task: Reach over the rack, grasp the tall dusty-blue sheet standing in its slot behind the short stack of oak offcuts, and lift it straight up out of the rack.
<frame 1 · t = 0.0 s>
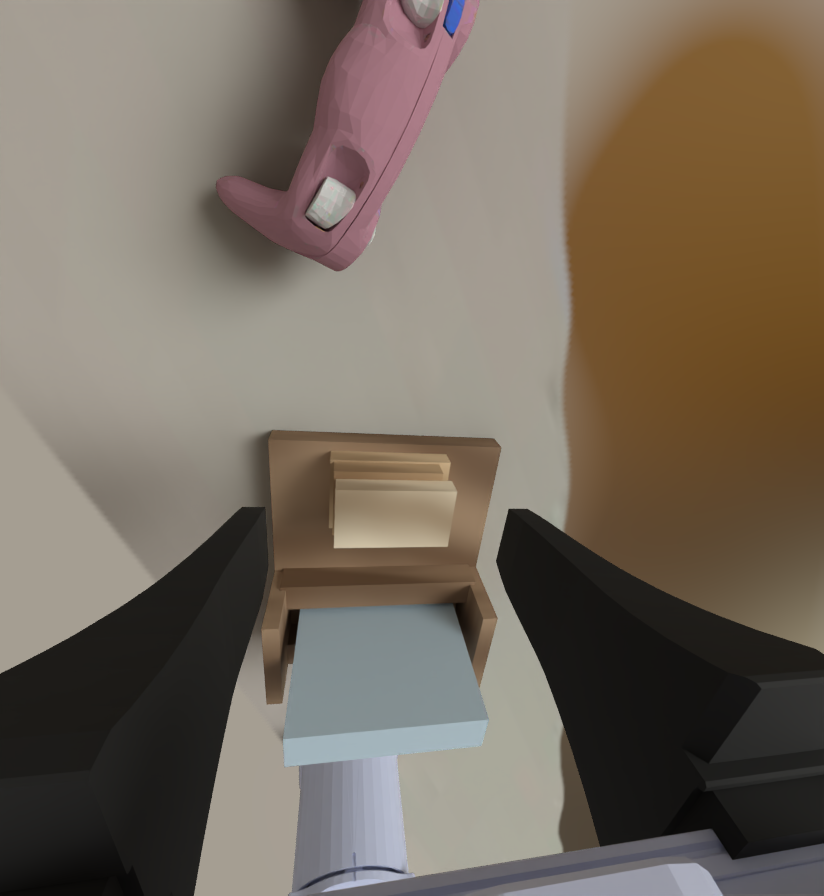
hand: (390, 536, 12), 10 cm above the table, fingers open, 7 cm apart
tall sheet: (376, 603, 25), point 1 cm above the table, touching rack
offcut stack: (387, 486, 21), point 1 cm above the table, touching rack
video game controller: (337, 127, 16), on the table
rack: (379, 539, 24), on the table
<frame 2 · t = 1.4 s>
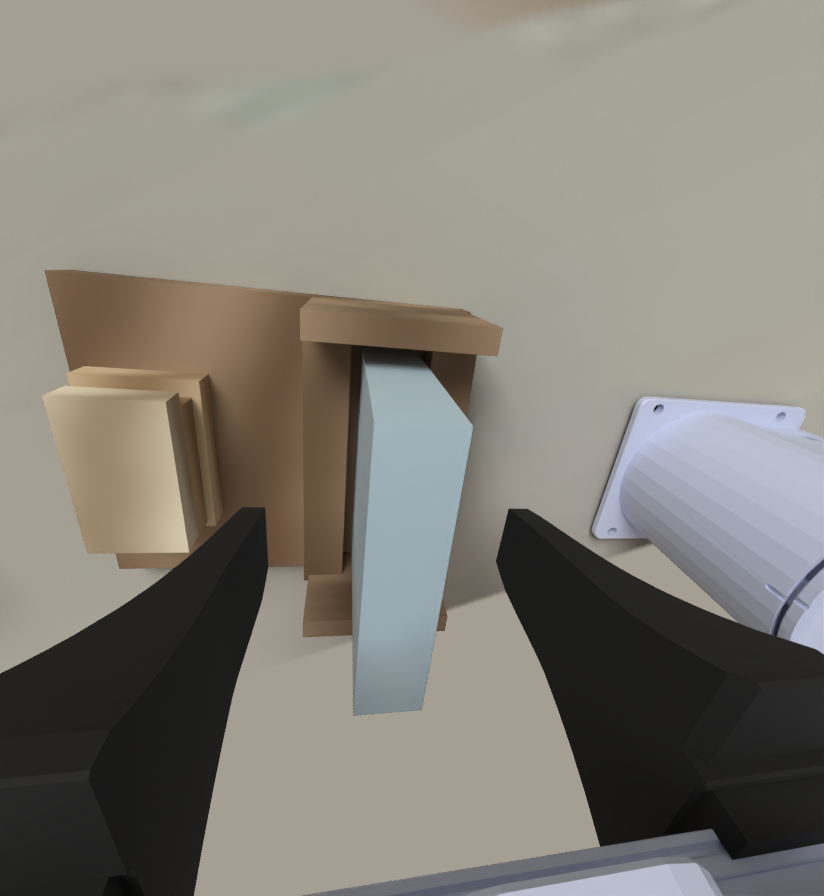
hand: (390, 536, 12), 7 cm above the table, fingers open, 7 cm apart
tall sheet: (379, 453, 17), point 1 cm above the table, touching rack
offcut stack: (160, 446, 15), point 1 cm above the table, touching rack
rack: (285, 438, 17), on the table
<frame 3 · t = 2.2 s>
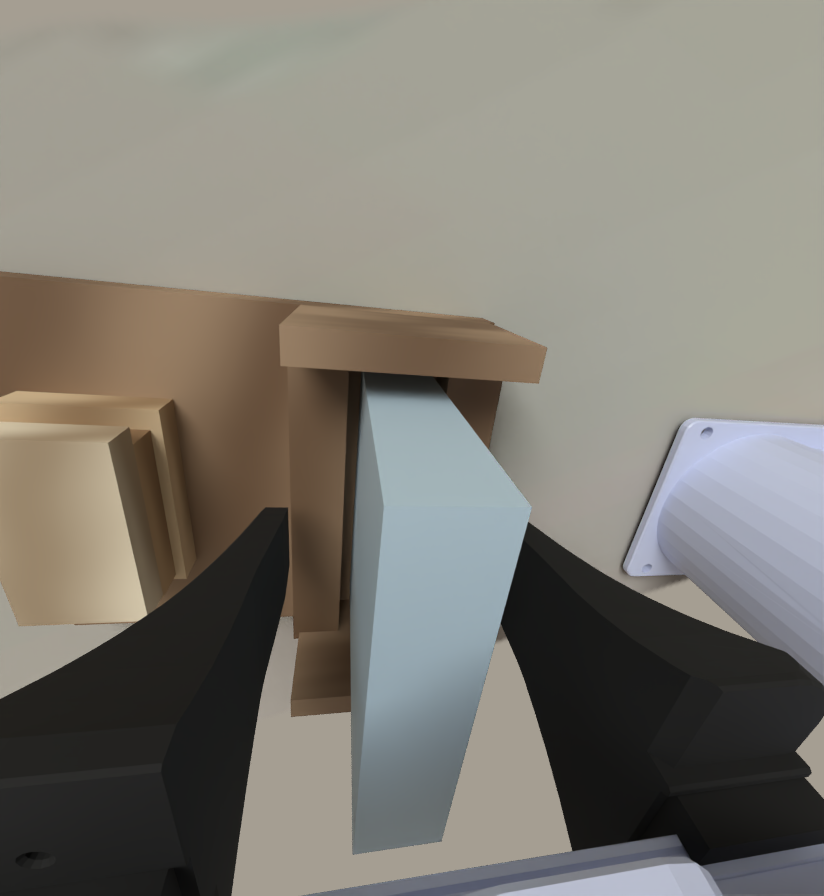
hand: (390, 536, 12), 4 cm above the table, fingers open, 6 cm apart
tall sheet: (383, 489, 14), point 1 cm above the table, touching rack
offcut stack: (117, 485, 13), point 1 cm above the table, touching rack
rack: (271, 470, 15), on the table
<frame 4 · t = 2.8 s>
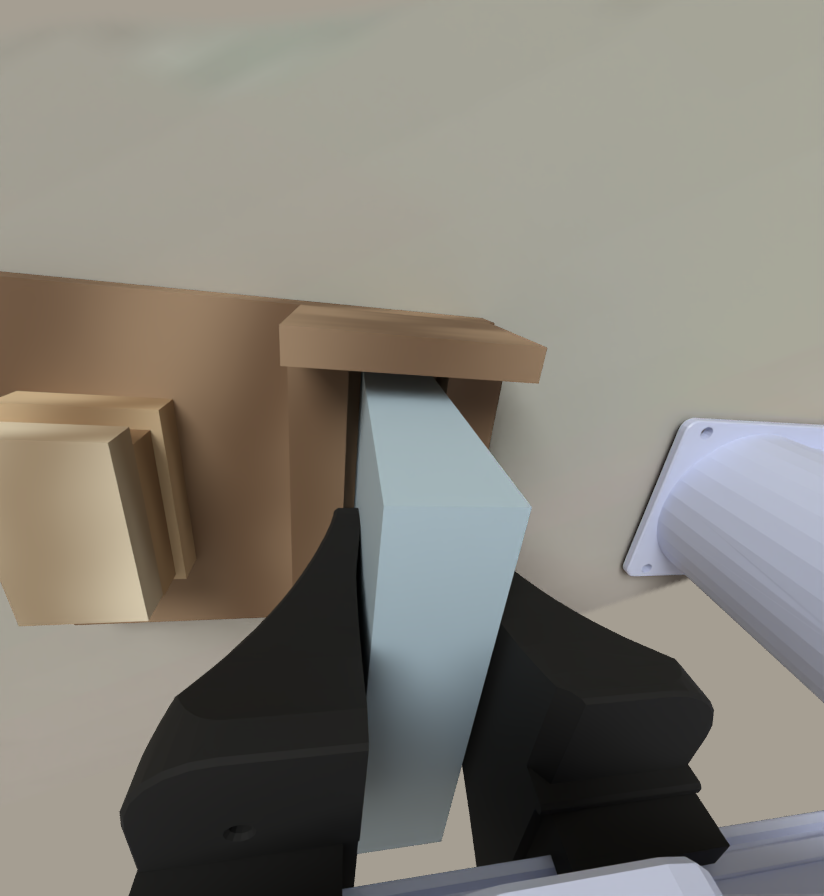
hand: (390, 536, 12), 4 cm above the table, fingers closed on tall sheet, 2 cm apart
tall sheet: (383, 489, 14), point 1 cm above the table, touching gripper, rack
offcut stack: (117, 485, 13), point 1 cm above the table, touching rack
rack: (271, 470, 15), on the table
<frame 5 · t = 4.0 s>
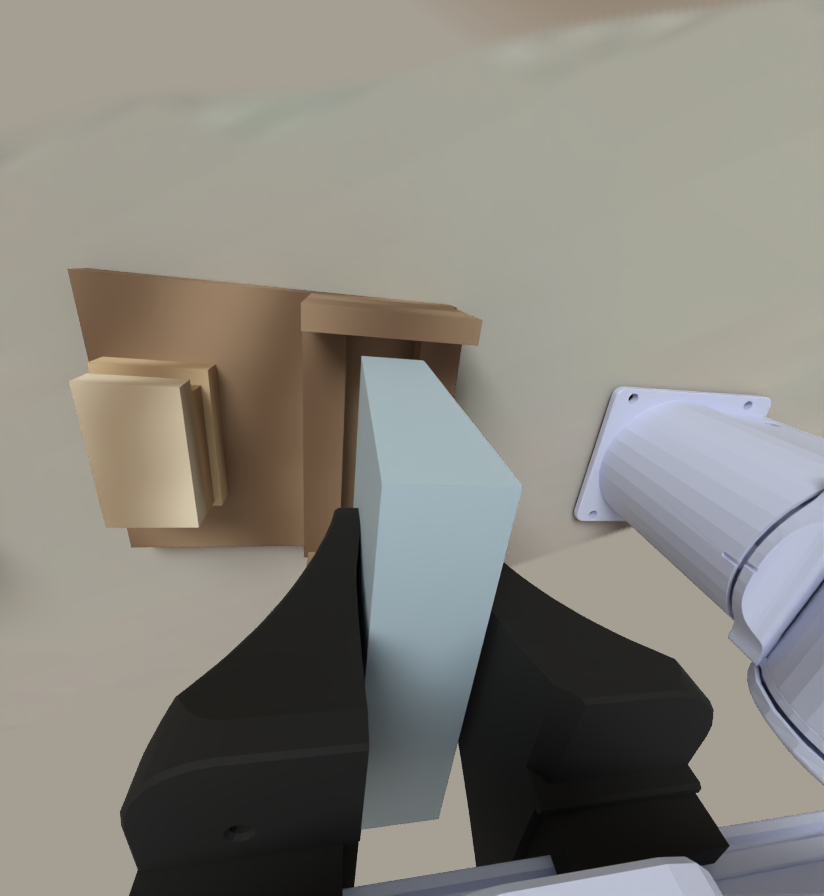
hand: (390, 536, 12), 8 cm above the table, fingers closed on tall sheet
tall sheet: (382, 481, 14), point 5 cm above the table, touching gripper
offcut stack: (171, 431, 17), point 1 cm above the table, touching rack
rack: (286, 425, 18), on the table
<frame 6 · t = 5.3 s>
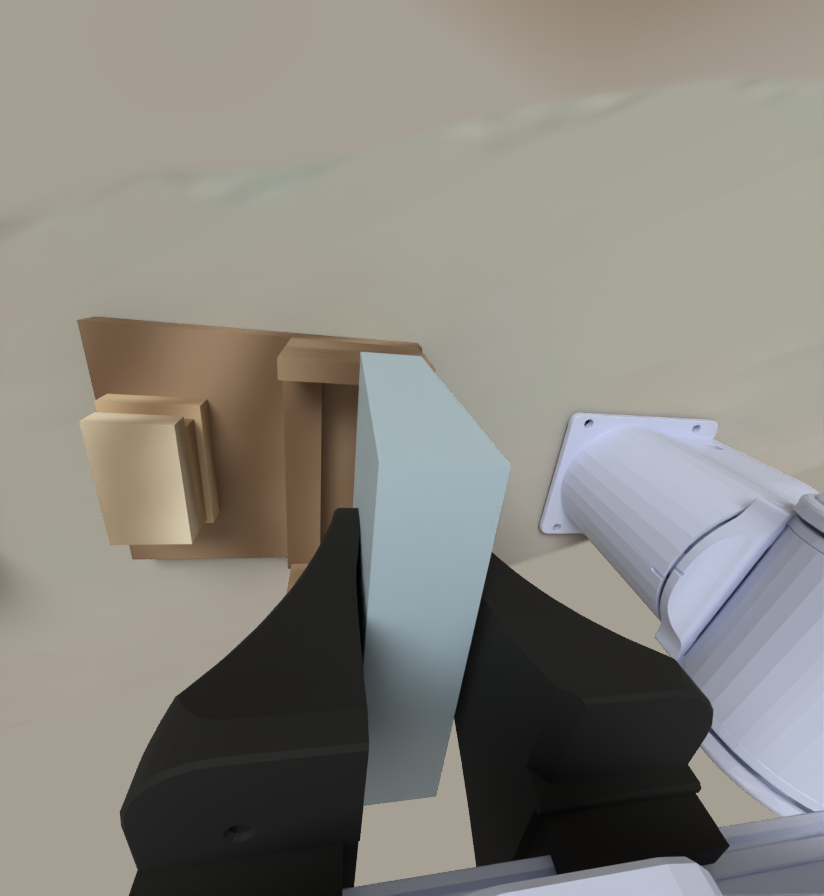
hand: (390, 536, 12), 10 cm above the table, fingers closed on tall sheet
tall sheet: (381, 475, 15), point 6 cm above the table, touching gripper
offcut stack: (168, 457, 19), point 1 cm above the table, touching rack
rack: (272, 449, 21), on the table
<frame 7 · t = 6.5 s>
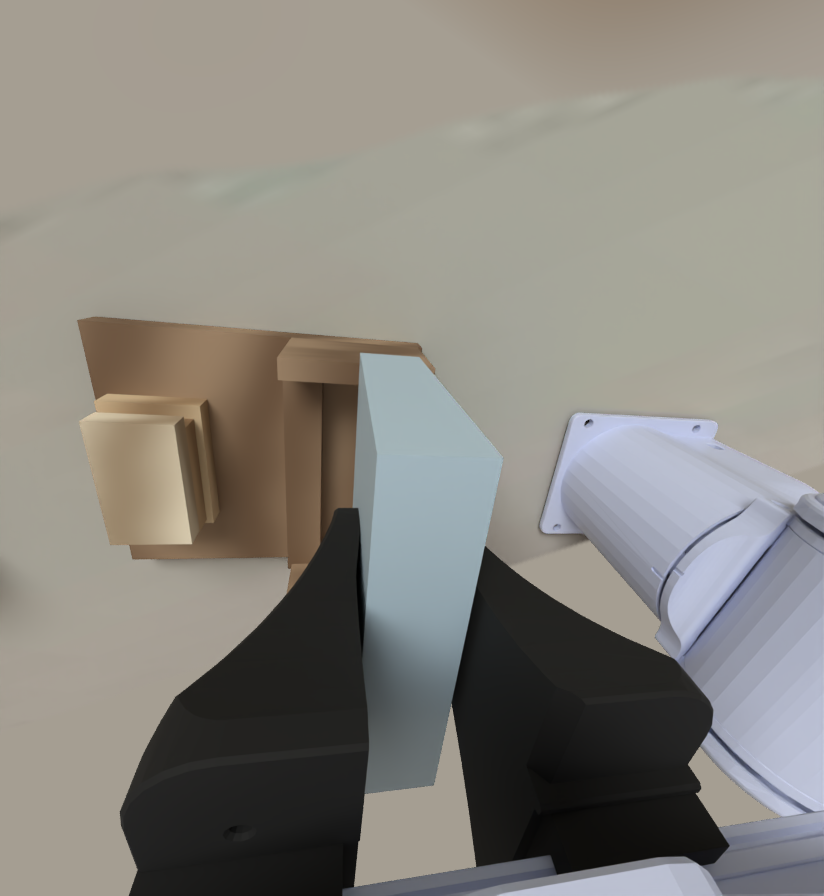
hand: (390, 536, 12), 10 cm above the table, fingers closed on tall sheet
tall sheet: (380, 473, 15), point 6 cm above the table, touching gripper
offcut stack: (168, 457, 19), point 1 cm above the table, touching rack
rack: (272, 449, 21), on the table
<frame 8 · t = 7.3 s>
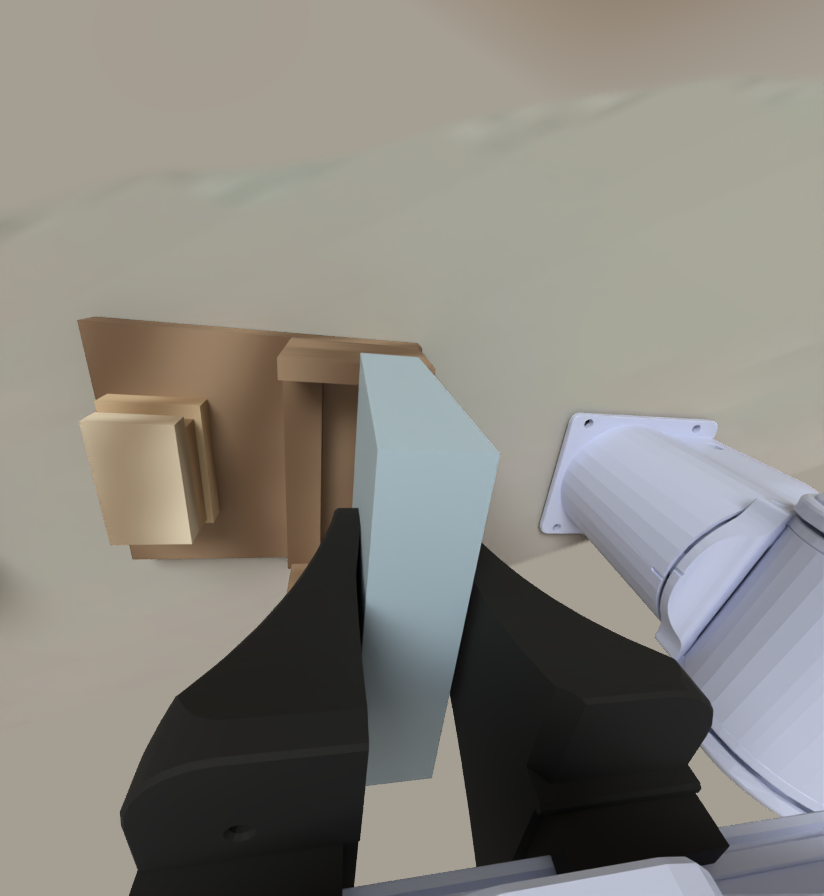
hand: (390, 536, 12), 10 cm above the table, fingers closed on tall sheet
tall sheet: (380, 472, 15), point 6 cm above the table, touching gripper
offcut stack: (168, 457, 19), point 1 cm above the table, touching rack
rack: (272, 449, 21), on the table
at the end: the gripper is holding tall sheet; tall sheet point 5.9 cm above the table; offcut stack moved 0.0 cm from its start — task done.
